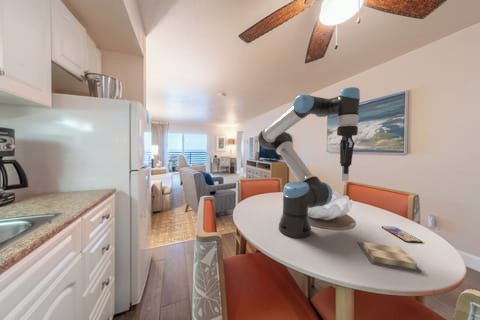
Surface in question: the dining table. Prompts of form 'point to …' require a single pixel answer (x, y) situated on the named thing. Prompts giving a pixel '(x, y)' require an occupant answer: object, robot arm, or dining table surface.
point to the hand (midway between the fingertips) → (344, 180)
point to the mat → (385, 264)
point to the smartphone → (401, 234)
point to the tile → (389, 255)
